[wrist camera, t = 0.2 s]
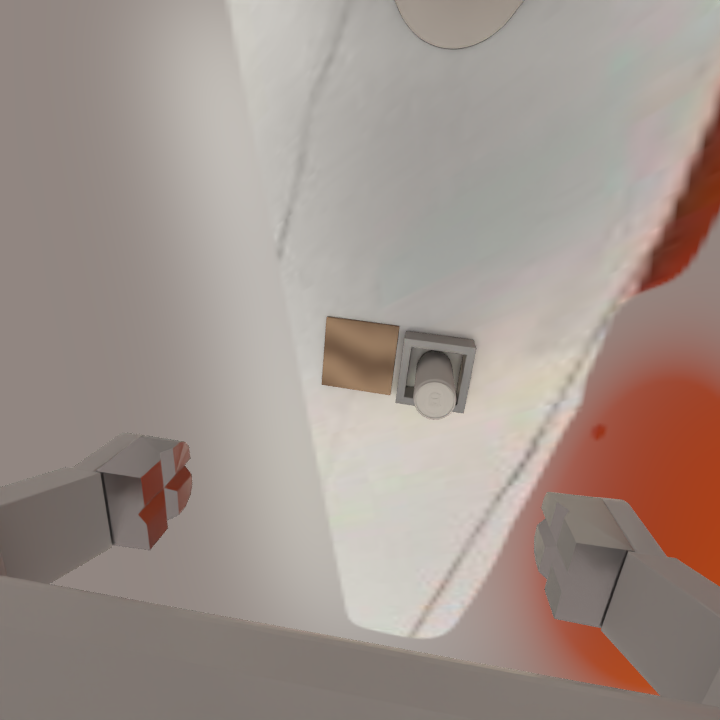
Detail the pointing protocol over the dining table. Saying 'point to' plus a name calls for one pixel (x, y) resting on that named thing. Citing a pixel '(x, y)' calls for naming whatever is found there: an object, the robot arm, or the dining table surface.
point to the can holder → (437, 344)
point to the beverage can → (434, 386)
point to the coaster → (359, 355)
